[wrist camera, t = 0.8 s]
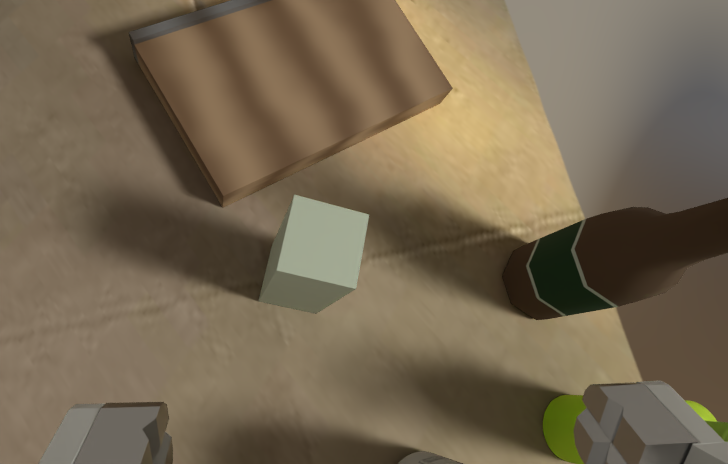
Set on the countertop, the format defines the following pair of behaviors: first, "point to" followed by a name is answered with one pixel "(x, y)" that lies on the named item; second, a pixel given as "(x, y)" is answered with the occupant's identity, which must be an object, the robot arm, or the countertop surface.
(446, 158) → the countertop surface
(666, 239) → the beer bottle
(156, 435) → the robot arm
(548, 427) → the soap dispenser
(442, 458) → the energy drink can
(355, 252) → the sage carton
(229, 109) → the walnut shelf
